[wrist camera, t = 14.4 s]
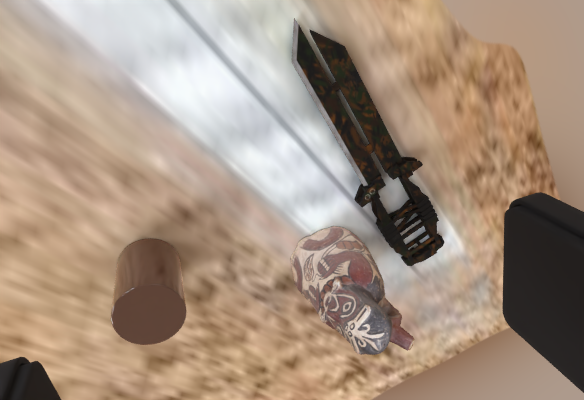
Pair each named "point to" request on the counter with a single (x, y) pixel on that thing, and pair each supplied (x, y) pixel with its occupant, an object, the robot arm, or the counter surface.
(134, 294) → the glossy brown cylinder
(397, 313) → the figurine
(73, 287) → the counter surface
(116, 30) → the counter surface
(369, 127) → the dark flat slotted piece
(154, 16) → the counter surface
